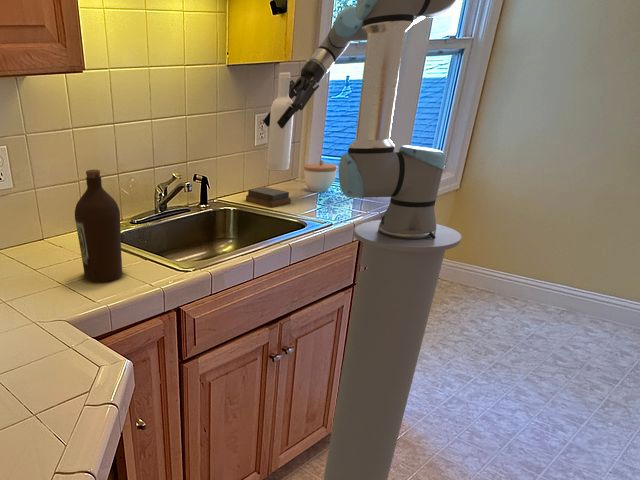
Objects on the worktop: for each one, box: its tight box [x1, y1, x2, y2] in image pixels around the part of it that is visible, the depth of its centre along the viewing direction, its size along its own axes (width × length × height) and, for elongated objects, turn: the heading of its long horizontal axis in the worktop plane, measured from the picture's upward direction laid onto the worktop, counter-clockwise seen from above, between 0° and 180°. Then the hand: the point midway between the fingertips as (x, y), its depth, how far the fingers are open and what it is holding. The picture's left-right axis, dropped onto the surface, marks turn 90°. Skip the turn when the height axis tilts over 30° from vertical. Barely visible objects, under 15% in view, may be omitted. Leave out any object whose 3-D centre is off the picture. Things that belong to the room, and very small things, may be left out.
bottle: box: [266, 71, 294, 172], centre depth 172 cm, size 8×8×30 cm
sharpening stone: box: [245, 186, 292, 208], centre depth 184 cm, size 14×9×4 cm, turn 32°
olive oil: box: [74, 169, 123, 283], centre depth 119 cm, size 11×11×25 cm
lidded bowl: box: [303, 160, 339, 193], centre depth 197 cm, size 13×13×11 cm
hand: (272, 124), depth 171 cm, fingers closed on bottle, 8 cm apart
